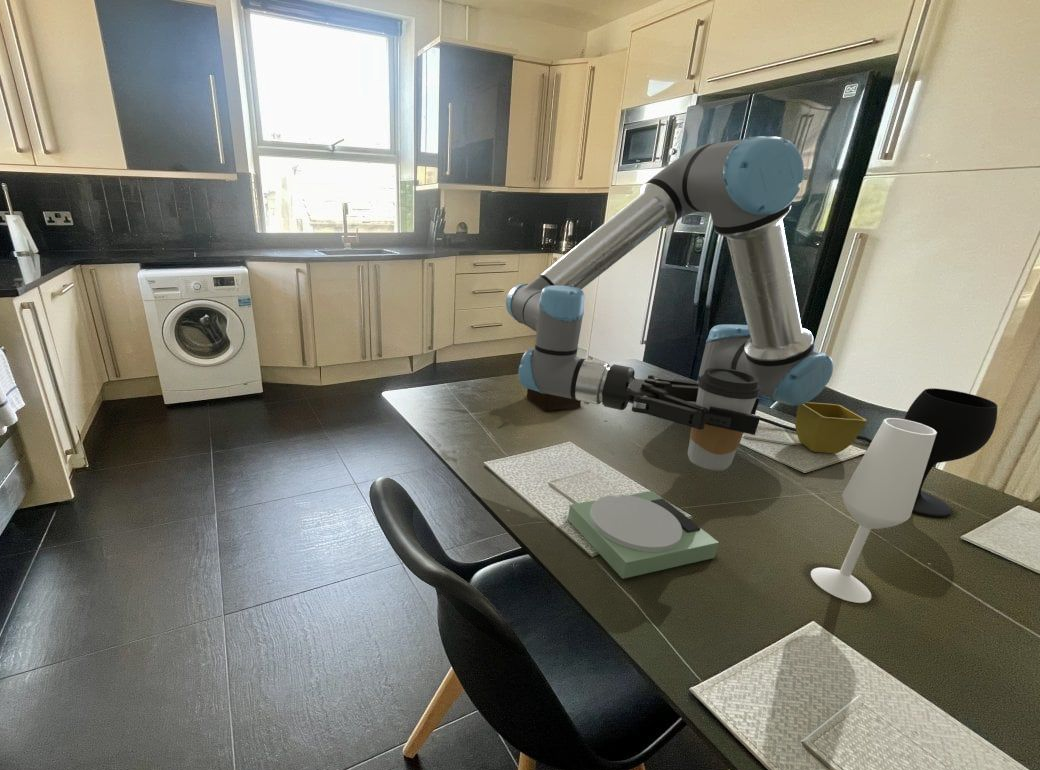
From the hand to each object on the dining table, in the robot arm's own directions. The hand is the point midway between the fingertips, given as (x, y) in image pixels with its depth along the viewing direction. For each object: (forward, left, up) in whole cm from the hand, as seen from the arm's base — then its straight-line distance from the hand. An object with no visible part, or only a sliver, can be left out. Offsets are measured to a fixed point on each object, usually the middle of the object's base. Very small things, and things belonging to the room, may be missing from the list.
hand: (757, 415), depth 74 cm
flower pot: (-34, -28, -19) cm, 48 cm away
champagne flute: (-8, +15, -19) cm, 25 cm away
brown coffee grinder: (+21, -50, -19) cm, 57 cm away
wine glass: (-37, -8, -19) cm, 42 cm away
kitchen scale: (+17, +7, -18) cm, 26 cm away
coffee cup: (+4, -2, -10) cm, 11 cm away
